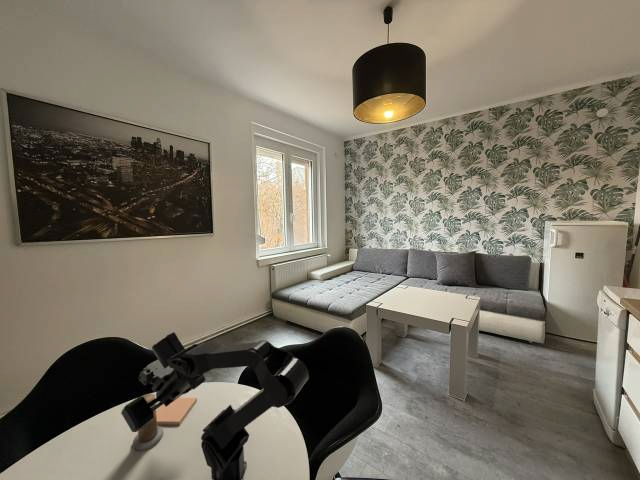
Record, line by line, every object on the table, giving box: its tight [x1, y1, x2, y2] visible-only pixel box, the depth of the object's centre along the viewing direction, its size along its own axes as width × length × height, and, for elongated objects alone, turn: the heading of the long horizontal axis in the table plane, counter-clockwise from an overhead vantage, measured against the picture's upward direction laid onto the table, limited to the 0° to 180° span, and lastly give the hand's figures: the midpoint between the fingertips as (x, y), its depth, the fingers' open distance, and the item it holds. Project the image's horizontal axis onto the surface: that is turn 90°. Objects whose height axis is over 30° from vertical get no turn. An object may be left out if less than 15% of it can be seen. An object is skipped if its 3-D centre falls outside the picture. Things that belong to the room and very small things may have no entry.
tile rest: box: [156, 397, 198, 426], centre depth 80 cm, size 10×10×1 cm
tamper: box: [132, 393, 164, 452], centre depth 69 cm, size 7×7×12 cm
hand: (152, 408), depth 68 cm, fingers open, 9 cm apart
